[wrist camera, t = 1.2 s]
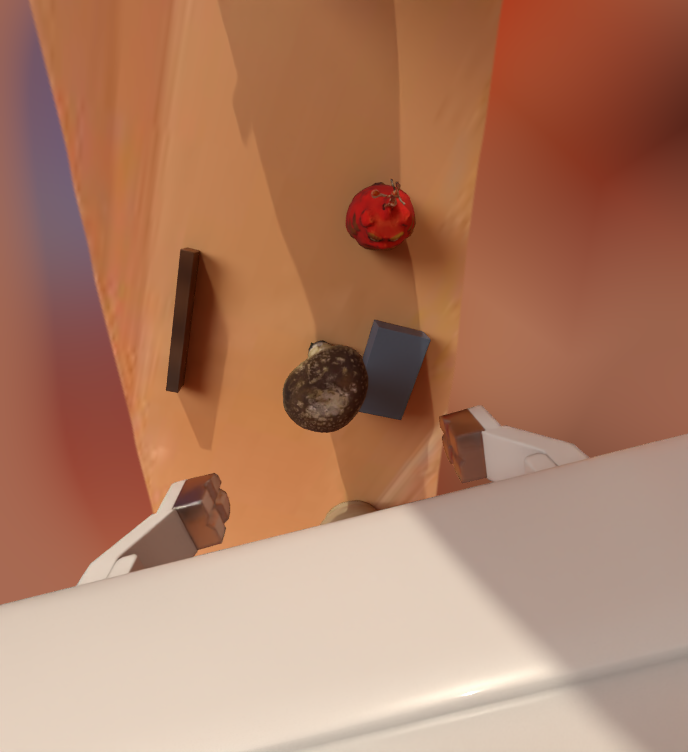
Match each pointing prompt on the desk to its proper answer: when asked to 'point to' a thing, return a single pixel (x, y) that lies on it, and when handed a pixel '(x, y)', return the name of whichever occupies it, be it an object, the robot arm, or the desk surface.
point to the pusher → (392, 367)
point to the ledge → (182, 318)
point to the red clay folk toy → (380, 217)
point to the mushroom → (326, 388)
